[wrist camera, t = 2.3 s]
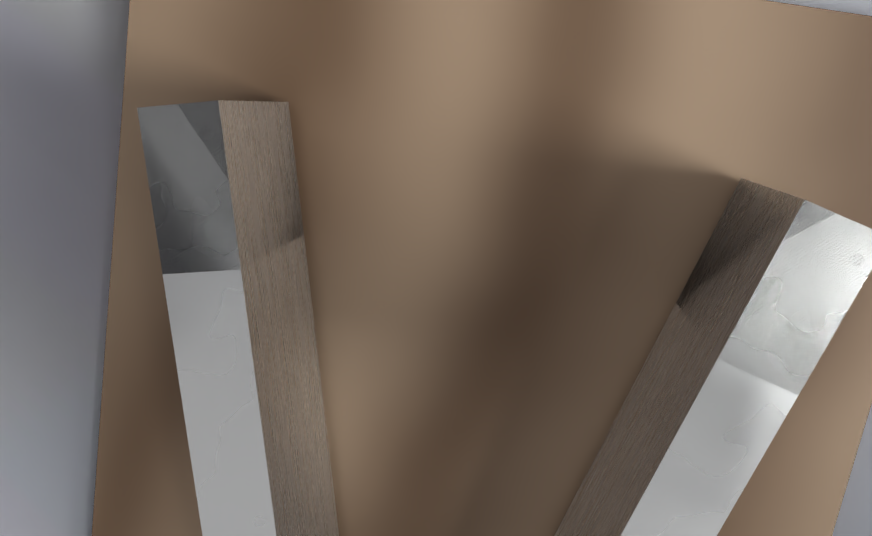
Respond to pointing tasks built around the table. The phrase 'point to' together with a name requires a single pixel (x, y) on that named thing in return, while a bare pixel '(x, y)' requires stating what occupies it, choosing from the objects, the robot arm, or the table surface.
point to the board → (495, 239)
